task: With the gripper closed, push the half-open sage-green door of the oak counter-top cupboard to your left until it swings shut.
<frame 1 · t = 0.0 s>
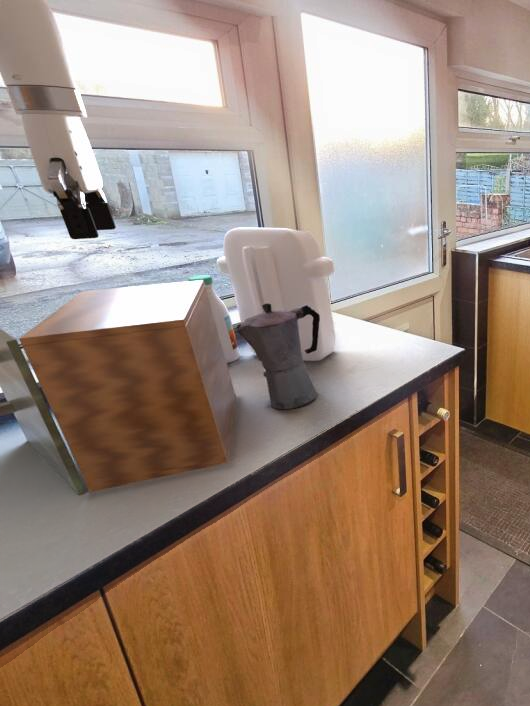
hand: (95, 233, 75), 34 cm above the countertop, tool pointing down, fingers open, 9 cm apart
milk bottle: (223, 360, 119), on the countertop
toaster: (290, 356, 121), on the countertop
cupboard: (174, 437, 86), on the countertop
moka pot: (295, 399, 100), on the countertop
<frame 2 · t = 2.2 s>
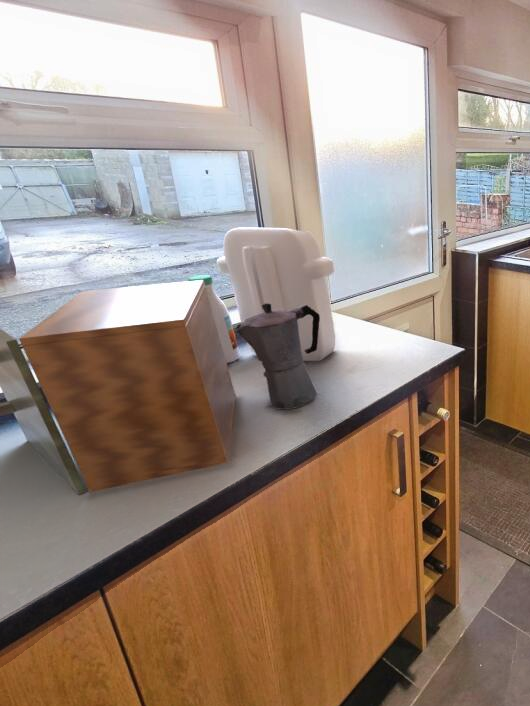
nothing on the countertop moved.
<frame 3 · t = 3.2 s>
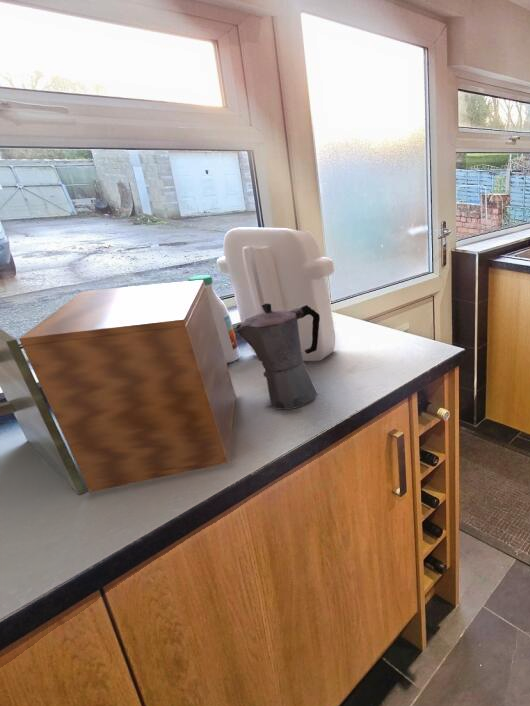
nothing on the countertop moved.
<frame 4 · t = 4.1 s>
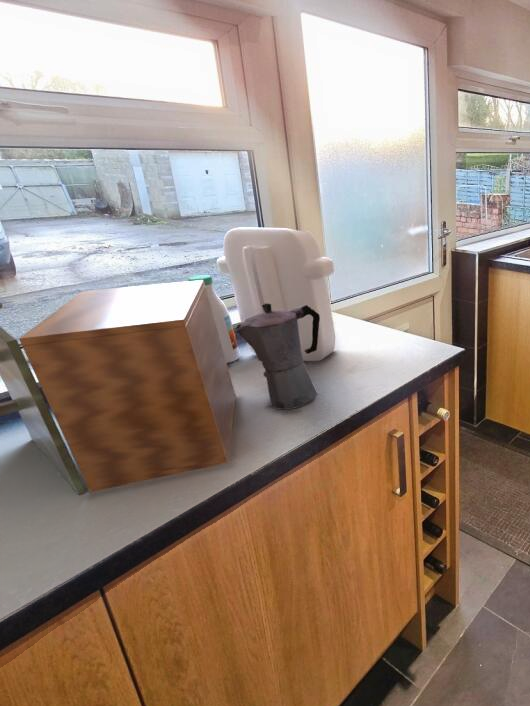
everything else where it was.
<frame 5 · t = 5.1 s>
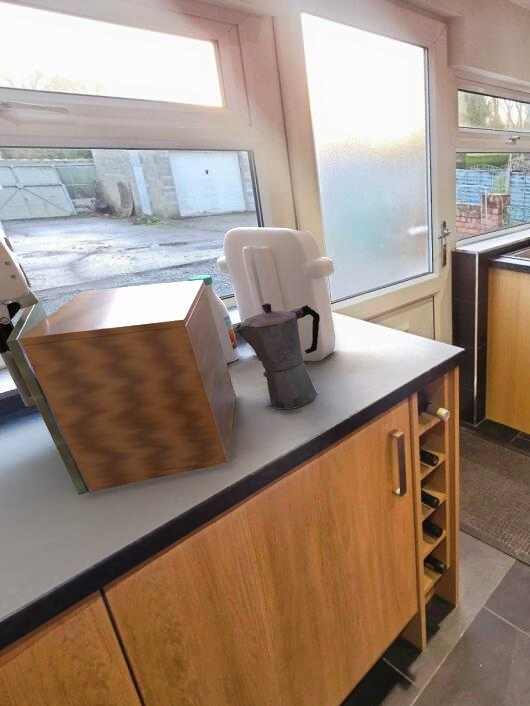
hand: (8, 349, 72), 19 cm above the countertop, tool pointing down, fingers closed
cupboard door: (32, 394, 75), point 12 cm above the countertop, hinge at 12.1°, touching gripper
everything else where it was.
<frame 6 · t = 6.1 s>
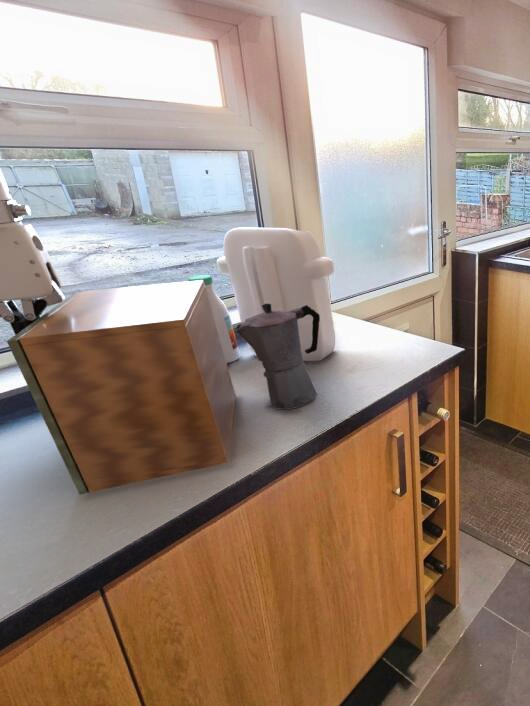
hand: (35, 344, 74), 19 cm above the countertop, tool pointing down, fingers closed
cupboard door: (57, 388, 77), point 12 cm above the countertop, hinge at -0.2°, touching gripper
everything else where it was.
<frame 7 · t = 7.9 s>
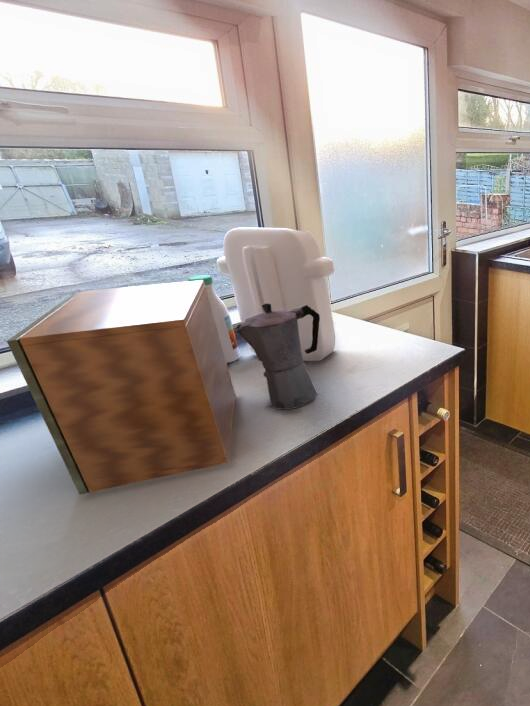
cupboard door: (57, 388, 77), point 12 cm above the countertop, hinge at -0.2°
everything else where it was.
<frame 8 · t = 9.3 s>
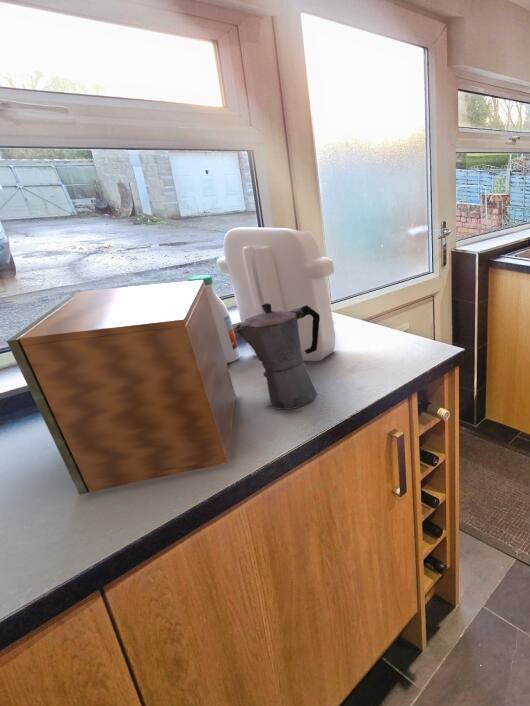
nothing on the countertop moved.
at the end: cupboard door at +0° (first picture: +30°); cupboard door reached +30° during the clip, +0° at the end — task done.
